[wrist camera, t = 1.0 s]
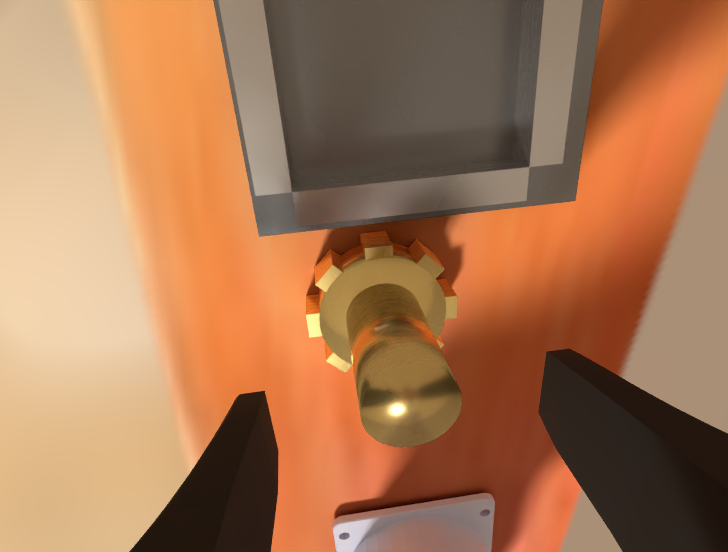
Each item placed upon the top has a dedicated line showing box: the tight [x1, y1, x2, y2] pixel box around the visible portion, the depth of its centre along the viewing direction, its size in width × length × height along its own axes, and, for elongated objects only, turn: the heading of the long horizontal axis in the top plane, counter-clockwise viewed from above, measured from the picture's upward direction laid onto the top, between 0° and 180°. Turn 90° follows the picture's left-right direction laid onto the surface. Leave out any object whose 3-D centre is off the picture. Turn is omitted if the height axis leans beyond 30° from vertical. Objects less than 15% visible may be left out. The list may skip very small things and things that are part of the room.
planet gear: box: [306, 231, 462, 447], centre depth 14 cm, size 5×5×6 cm
